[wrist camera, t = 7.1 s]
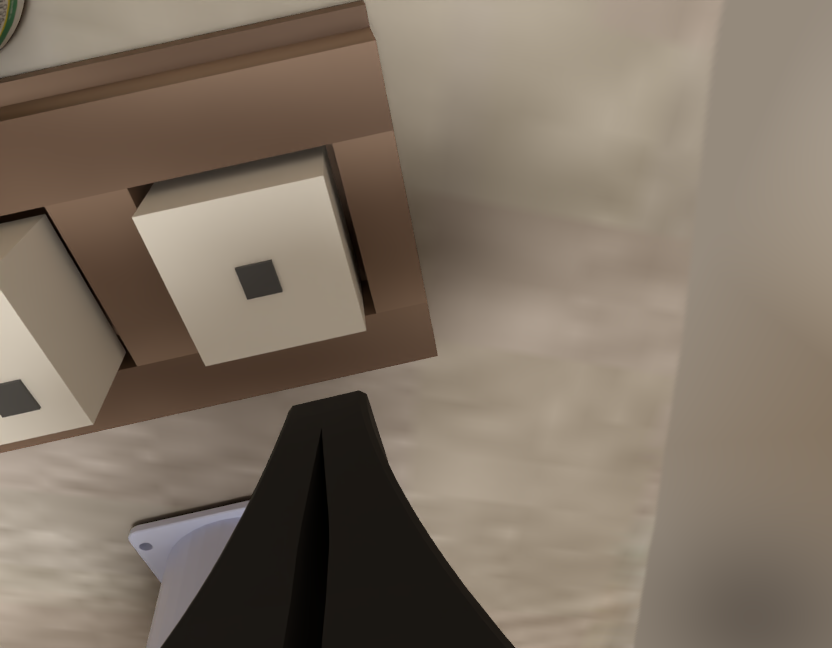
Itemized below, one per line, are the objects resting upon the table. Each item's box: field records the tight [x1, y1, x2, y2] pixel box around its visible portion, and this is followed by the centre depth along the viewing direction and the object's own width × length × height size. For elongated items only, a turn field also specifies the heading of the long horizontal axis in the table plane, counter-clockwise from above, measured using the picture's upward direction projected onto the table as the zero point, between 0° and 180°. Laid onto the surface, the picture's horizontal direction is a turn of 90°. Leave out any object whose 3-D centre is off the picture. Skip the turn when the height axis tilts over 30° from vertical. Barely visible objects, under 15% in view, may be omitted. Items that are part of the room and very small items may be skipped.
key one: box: [132, 145, 366, 366], centre depth 16 cm, size 4×4×3 cm
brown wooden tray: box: [0, 0, 438, 453], centre depth 17 cm, size 10×22×3 cm, turn 100°
